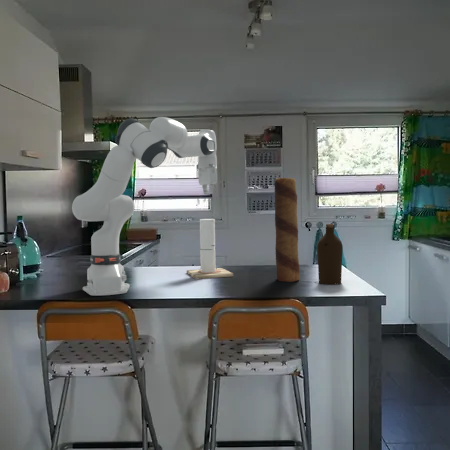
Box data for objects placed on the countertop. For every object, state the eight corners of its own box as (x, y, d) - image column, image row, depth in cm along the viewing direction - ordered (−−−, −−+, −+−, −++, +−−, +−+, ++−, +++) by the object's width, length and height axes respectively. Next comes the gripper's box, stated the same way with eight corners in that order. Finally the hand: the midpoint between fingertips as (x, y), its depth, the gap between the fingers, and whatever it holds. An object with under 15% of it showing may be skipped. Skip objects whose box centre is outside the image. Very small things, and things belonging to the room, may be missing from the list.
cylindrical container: (218, 271, 224) (217, 219, 223) (207, 273, 219) (206, 219, 218) (208, 269, 229) (207, 218, 228) (197, 271, 224) (196, 219, 223)
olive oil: (345, 284, 194) (345, 224, 193) (319, 285, 194) (319, 225, 193) (339, 280, 205) (339, 223, 203) (315, 280, 205) (314, 223, 204)
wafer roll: (270, 280, 207) (269, 178, 205) (284, 277, 215) (283, 178, 213) (289, 283, 200) (288, 177, 198) (303, 279, 208) (302, 177, 206)
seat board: (233, 276, 219) (233, 272, 219) (195, 279, 214) (195, 275, 213) (221, 270, 236) (221, 267, 236) (186, 273, 231) (186, 269, 231)
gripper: (220, 163, 213) (220, 193, 214) (208, 166, 232) (208, 194, 233) (207, 163, 211) (207, 193, 212) (195, 166, 230) (196, 194, 231)
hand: (208, 194), depth 223 cm, fingers open, 8 cm apart
